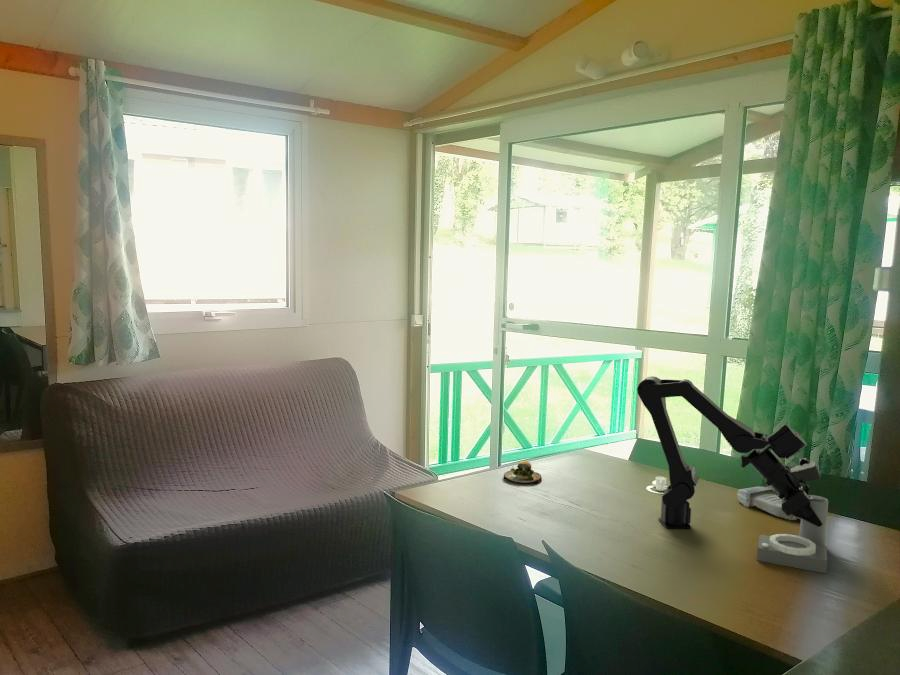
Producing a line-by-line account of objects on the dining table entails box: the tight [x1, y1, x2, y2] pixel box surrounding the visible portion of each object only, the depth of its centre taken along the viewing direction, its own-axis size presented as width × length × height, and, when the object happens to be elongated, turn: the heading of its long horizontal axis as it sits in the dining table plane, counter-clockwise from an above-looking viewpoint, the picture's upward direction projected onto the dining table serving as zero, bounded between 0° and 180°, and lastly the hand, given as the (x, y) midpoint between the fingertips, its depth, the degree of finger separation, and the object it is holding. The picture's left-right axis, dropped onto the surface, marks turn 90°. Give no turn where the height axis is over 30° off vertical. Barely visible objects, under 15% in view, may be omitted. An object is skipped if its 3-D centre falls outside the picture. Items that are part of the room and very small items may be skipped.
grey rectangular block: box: [756, 533, 828, 575], centre depth 157 cm, size 14×9×4 cm
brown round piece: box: [503, 460, 543, 485], centre depth 214 cm, size 12×12×8 cm
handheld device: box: [737, 486, 801, 521], centre depth 189 cm, size 10×20×5 cm, turn 25°
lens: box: [799, 494, 829, 546], centre depth 164 cm, size 6×6×12 cm
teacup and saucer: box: [645, 476, 667, 495], centre depth 206 cm, size 9×8×4 cm
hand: (820, 521), depth 163 cm, fingers closed on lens, 5 cm apart
